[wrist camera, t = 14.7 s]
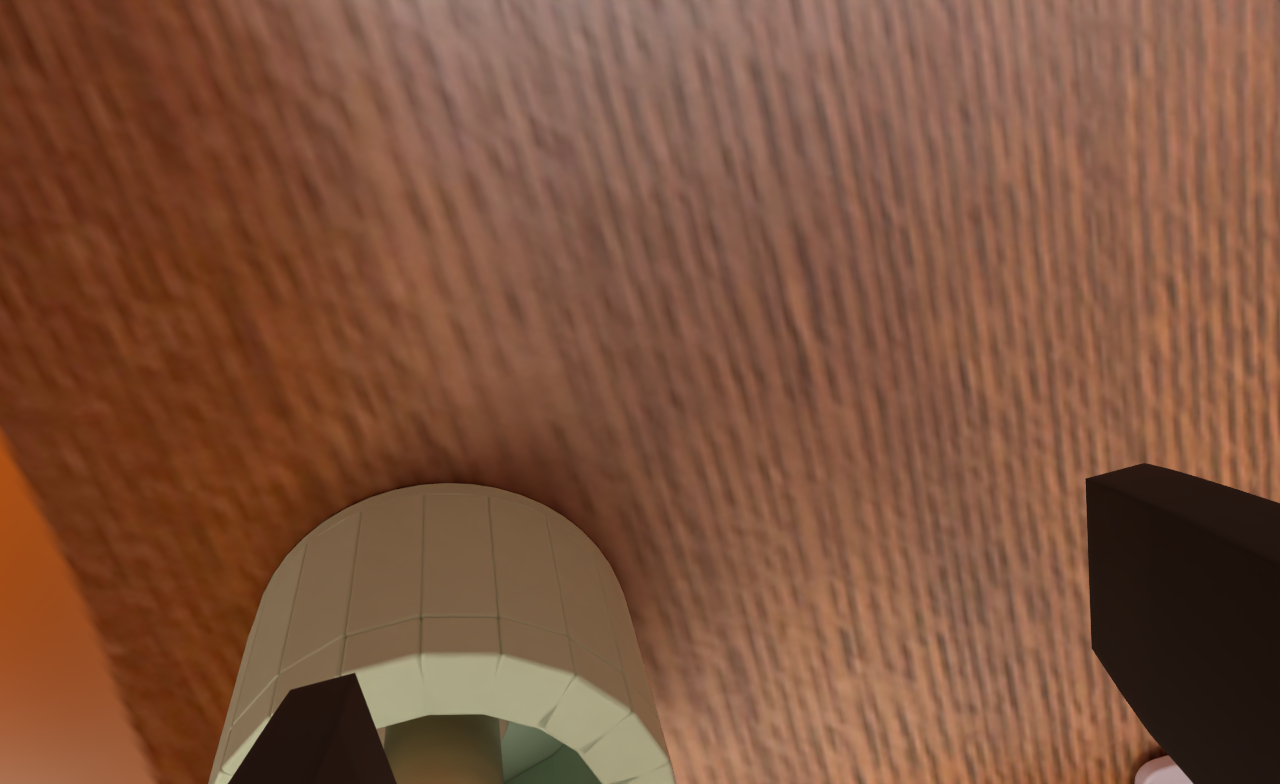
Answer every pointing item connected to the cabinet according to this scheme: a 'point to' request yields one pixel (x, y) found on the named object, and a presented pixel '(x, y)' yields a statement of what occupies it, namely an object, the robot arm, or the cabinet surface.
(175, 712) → the cabinet surface
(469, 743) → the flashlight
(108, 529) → the cabinet surface
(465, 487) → the jar
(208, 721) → the cabinet surface
